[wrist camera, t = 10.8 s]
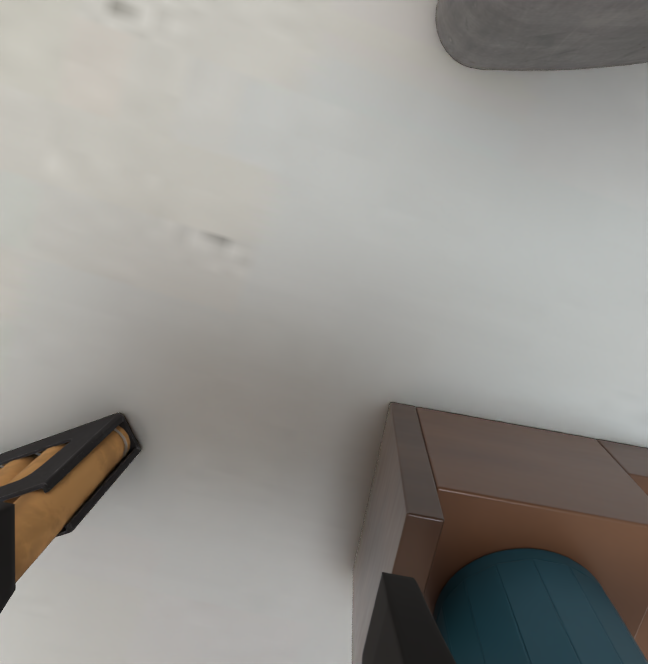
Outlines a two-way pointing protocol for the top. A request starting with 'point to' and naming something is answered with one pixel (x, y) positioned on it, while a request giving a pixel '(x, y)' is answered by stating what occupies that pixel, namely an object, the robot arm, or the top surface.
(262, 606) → the top surface
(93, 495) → the ammunition clip
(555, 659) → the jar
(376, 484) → the step shelf
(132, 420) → the top surface
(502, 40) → the hip flask
